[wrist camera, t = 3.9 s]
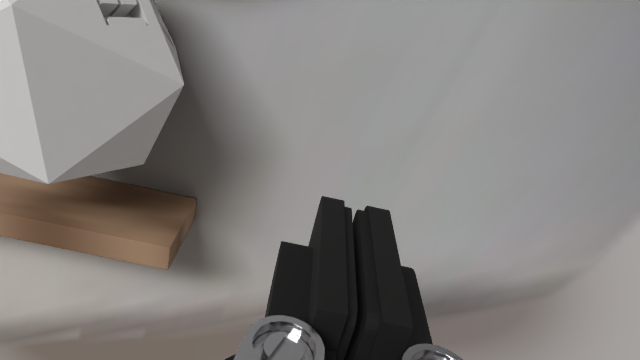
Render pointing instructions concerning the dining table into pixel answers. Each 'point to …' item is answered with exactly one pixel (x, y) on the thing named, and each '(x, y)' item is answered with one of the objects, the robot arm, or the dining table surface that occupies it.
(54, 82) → the die
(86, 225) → the channel
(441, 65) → the dining table surface
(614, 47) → the dining table surface
